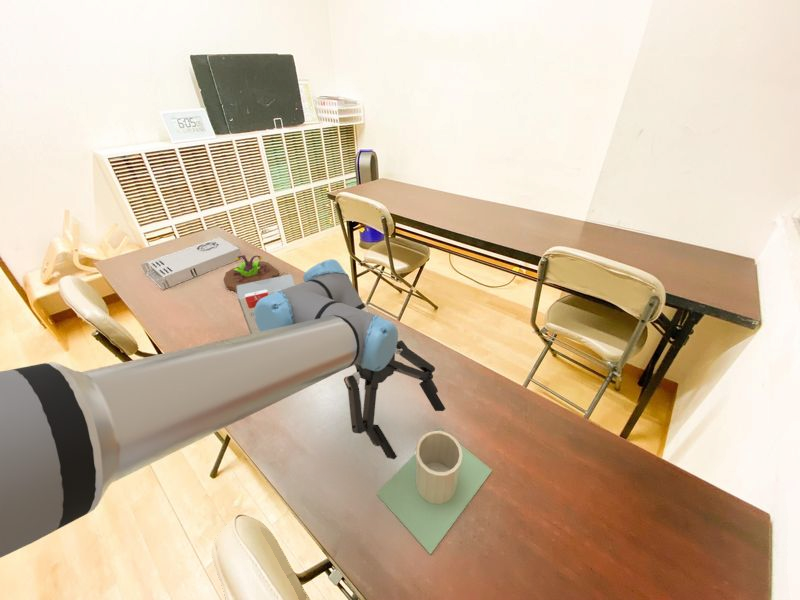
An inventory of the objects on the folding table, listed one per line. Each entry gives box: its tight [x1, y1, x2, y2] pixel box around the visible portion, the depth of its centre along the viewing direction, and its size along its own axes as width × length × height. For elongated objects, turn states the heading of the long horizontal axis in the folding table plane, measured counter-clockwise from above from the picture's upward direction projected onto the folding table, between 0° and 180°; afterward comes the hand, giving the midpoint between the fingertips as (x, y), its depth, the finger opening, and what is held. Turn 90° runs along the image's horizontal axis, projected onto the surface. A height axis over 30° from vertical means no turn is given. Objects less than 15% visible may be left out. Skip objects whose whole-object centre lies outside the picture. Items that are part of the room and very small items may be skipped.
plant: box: [223, 254, 280, 294], centre depth 127 cm, size 20×20×11 cm
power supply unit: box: [140, 236, 243, 291], centre depth 138 cm, size 19×33×5 cm, turn 140°
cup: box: [415, 430, 463, 504], centre depth 62 cm, size 8×8×12 cm
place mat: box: [376, 427, 493, 556], centre depth 66 cm, size 20×14×1 cm
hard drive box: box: [236, 273, 296, 334], centre depth 96 cm, size 16×8×20 cm, turn 114°
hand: (417, 432), depth 61 cm, fingers open, 13 cm apart
